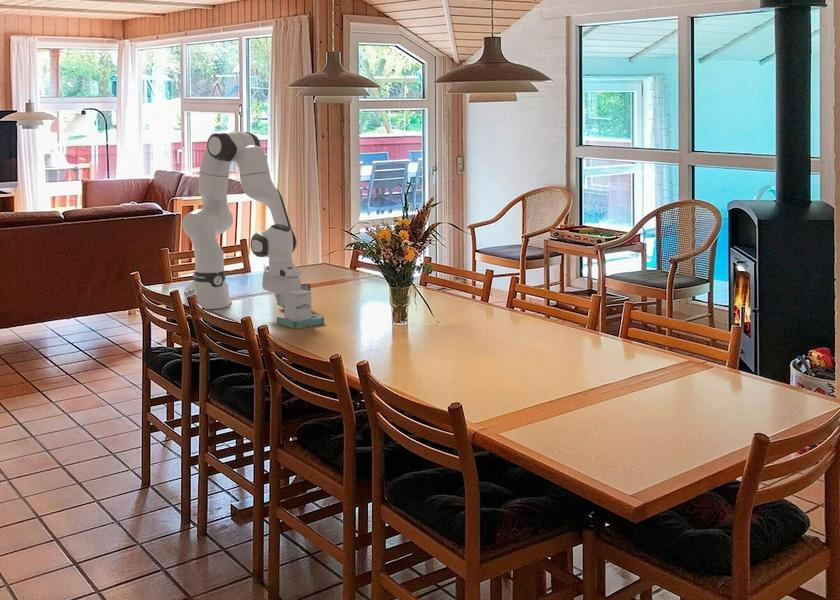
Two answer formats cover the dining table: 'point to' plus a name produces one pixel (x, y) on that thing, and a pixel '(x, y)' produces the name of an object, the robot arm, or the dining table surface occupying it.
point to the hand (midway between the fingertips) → (280, 305)
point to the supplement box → (297, 305)
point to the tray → (303, 323)
